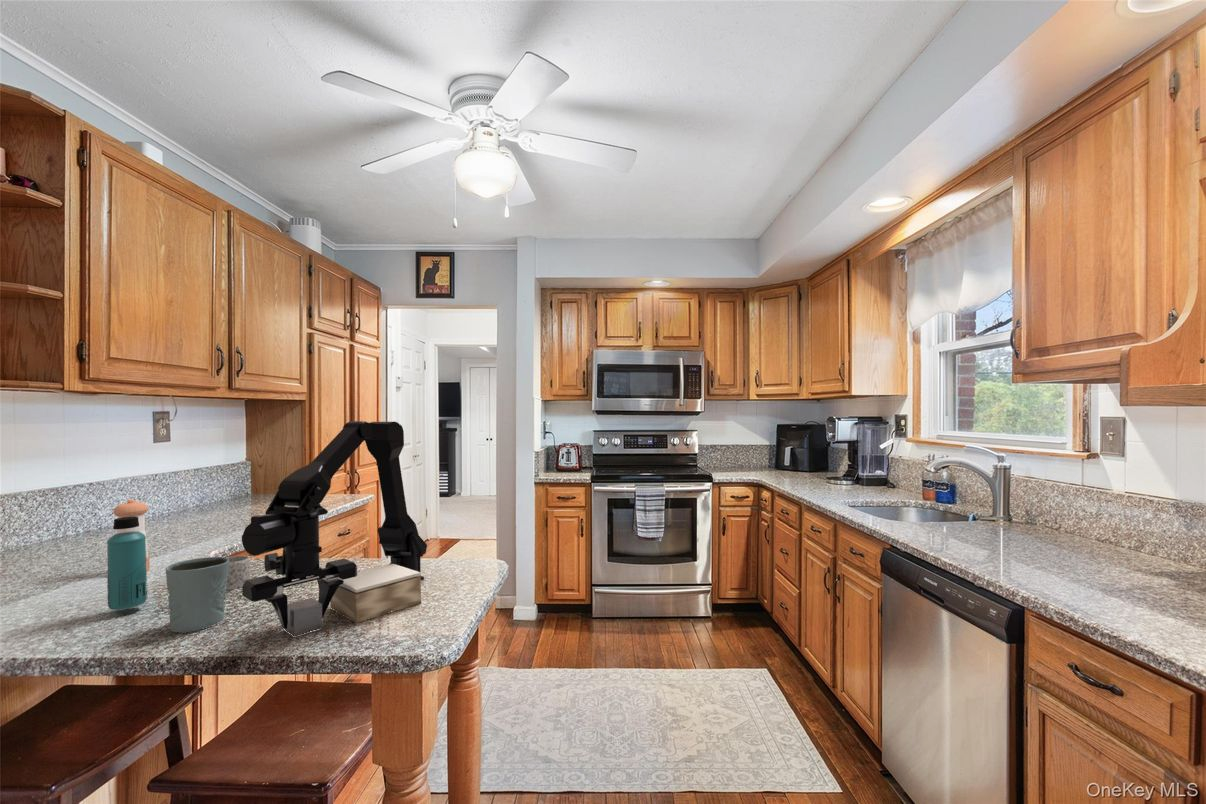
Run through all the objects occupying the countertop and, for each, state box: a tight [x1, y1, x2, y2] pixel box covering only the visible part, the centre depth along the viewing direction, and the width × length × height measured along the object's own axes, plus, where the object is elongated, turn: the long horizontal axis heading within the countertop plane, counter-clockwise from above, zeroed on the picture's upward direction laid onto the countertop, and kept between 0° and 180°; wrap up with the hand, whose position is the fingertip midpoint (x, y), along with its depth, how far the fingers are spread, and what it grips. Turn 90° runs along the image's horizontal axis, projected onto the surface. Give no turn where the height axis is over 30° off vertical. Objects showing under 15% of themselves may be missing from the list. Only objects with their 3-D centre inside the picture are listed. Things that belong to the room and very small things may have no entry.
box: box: [329, 576, 422, 624], centre depth 116 cm, size 14×12×6 cm
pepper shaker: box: [113, 498, 150, 572], centre depth 144 cm, size 7×7×19 cm
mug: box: [225, 554, 251, 592], centre depth 129 cm, size 10×7×7 cm, turn 168°
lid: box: [340, 563, 422, 593], centre depth 116 cm, size 14×12×1 cm
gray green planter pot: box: [165, 556, 229, 634], centre depth 108 cm, size 10×10×12 cm
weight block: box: [285, 597, 323, 637], centre depth 104 cm, size 5×5×5 cm
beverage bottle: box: [106, 516, 149, 611], centre depth 115 cm, size 6×7×20 cm
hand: (303, 623), depth 104 cm, fingers open, 6 cm apart
